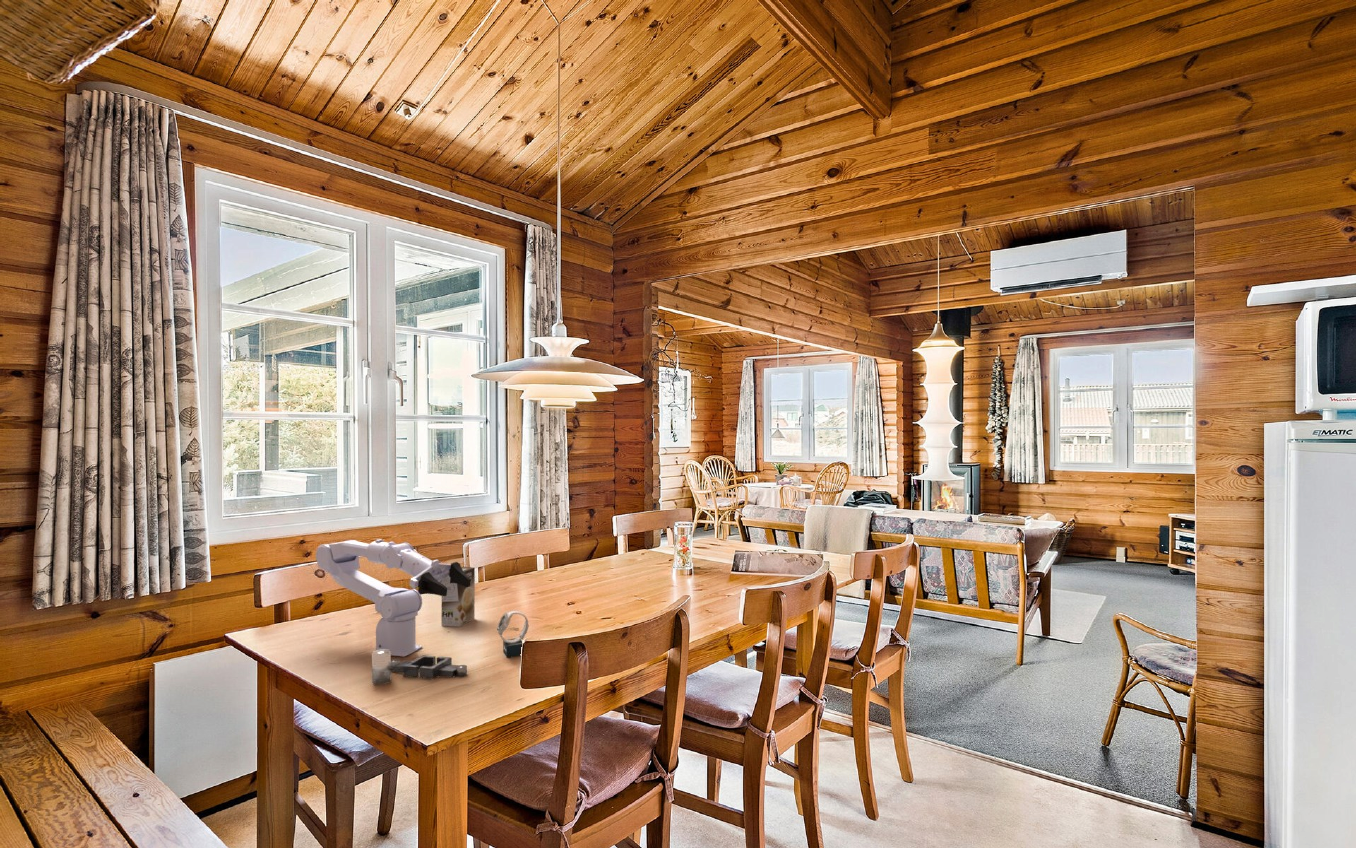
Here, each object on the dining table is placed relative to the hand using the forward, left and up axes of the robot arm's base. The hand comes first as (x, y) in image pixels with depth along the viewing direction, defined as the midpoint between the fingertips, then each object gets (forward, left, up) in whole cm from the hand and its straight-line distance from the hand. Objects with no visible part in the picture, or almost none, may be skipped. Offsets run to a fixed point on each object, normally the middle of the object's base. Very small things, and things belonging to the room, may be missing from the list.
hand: (457, 587), depth 174 cm
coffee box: (-20, +33, -19) cm, 43 cm away
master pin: (-11, -15, -19) cm, 27 cm away
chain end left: (-10, -7, -19) cm, 22 cm away
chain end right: (+1, -7, -19) cm, 20 cm away
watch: (+10, +10, -19) cm, 24 cm away
